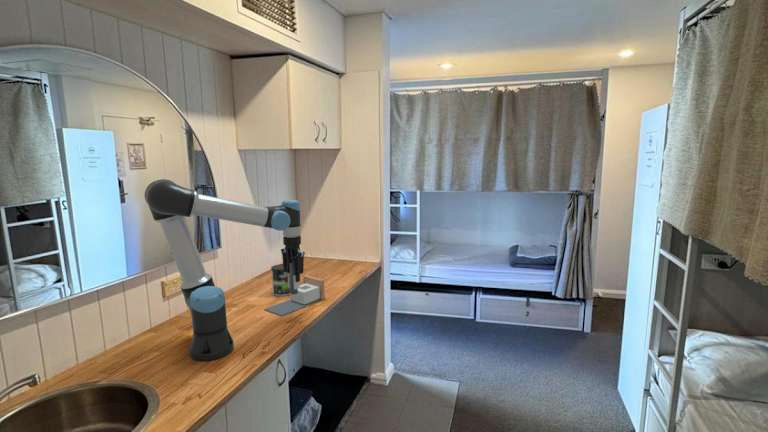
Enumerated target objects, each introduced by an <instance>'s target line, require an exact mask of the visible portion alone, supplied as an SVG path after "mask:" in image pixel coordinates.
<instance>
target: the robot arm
mask: <svg viewBox="0 0 768 432" xmlns="http://www.w3.org/2000/svg"><path fill="white" fill-rule="evenodd" d="M144 200H145V202H146V203H147V205H148V208H149V210H150V213H151V215H152V218H153V221H154V222H157V223H158V224H160V226H161V228H162V230H163V233H164V236H165V239H166V241H167V245H168V246H169V250H170V251H171V254H172V257H173V260H174V262H175V265H176V267H177V269H178V272H179V275H180V277H181V280H182V282H181V284H180V289H181V292H182V295H183V298H184V299H183V300H184V302H185V304H186V306H187V308H188V310H189V312H190V315H191V323H192V333H193V334H192V338H191V342H190V346H189V356H190V358H191V359H192V360H195V361H199V362H206V361H207V362H208V361H214V360H217V359H221V358H224V357H226V356H228V355H229V354H230V353H232V352H233V350H234V349H235V346H234V344H235V343H234V339H233V338H232V335H231V333H230V331H229V329H228V322H227V309H226V308H227V307H226V294H225V292H224V290H223V289H222V288H220V286H216V285H215V282H214V280H213V276H212V274H210V273H207V272H206V270H205V267H204V264H203V261H202V259H201V257H200V256H201V255H200V253H199V251H198V248H197V245H196V242H195V240H194V237H193V234H192V231H191V229H190V226H189V223H188V220H187V218H191V217H192V216H199V217H205V218H211V219H216V220H222V221H226V222H227V221H228V222H233V223H240V224H245V225H250V226H258V227H263V228H267V229H274V230H275V231H280V232H281V231H282V235H283V237H282V238H283V239H282V243H283V246H284V247H283V248H281V249H280V252H281V254H282V255H281V256H282V257H281V258H282V264H283V269H284V271H286V272H287V279H288V288H290V267H289V263H290V262H293V266H294V273H295V274H293V281H294V289H298V288H300V285H301V283H300V281H301V274H303V273H304V266H305V265H304V263H305V261H304V258H305V254H306V253H305V251H301V247H300V245H301V243H302V236H301V233H302V232H301V230H302V229H301V205H300V202H299V200H297V199H286V200H285V199H284V200H282V201H281V205H272V206H262V205H255V204H250V203H246V202H245V203H244V202H241V201H236V200H232V199H231V200H230V199H225V198H220V197H216V196H209V195H206V194H200V193H198V192H197V190H195V189H191V188H186V187H184V186H181V185H179V184H177V183H175V182H174V181H173V180H169V179H164V178H163V179H157V180H154V181H152V182H151V183H150V184H148V185H147V187H146V188H145V190H144ZM186 217H187V218H186Z"/></svg>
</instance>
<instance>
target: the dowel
mask: <svg viewBox="0 0 768 432" xmlns="http://www.w3.org/2000/svg"><path fill="white" fill-rule="evenodd" d="M289 267H290V293H291V294H298V289H294V281H293V274H295V273H294V266H293V262H290V263H289ZM291 294H290V295H291Z"/></svg>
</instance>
